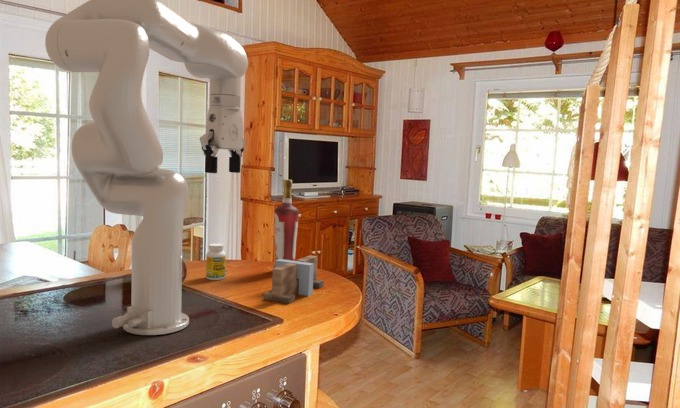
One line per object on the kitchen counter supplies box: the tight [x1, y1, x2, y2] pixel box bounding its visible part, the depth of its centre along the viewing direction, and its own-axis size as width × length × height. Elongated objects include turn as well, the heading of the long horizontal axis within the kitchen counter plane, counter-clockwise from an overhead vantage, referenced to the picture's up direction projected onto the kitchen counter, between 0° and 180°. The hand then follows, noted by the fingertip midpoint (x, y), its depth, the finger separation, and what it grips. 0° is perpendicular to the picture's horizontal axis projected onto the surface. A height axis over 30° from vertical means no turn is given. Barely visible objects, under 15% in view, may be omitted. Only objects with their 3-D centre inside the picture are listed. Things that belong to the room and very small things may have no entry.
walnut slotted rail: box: [263, 254, 325, 305], centre depth 132 cm, size 20×7×8 cm, turn 157°
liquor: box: [273, 178, 300, 268], centre depth 154 cm, size 7×7×28 cm
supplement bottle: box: [205, 242, 227, 281], centre depth 143 cm, size 5×5×10 cm
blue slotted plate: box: [274, 259, 314, 297], centre depth 132 cm, size 10×2×8 cm, turn 67°
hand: (223, 172), depth 128 cm, fingers open, 9 cm apart
